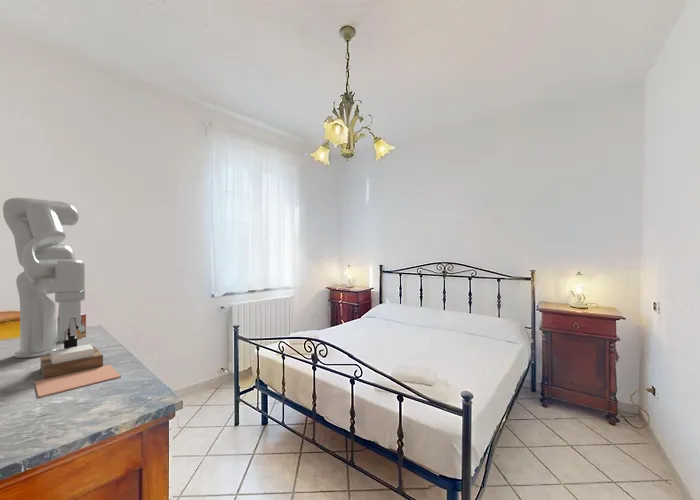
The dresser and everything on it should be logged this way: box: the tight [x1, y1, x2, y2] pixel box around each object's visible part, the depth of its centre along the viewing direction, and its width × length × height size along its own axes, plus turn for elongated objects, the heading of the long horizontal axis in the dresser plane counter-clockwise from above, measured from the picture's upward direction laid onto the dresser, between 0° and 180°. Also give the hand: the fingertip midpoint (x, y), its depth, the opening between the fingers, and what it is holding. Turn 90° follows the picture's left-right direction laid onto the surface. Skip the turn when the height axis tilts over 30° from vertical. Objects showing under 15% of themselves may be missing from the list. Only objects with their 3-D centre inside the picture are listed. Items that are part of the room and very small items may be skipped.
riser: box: [40, 346, 104, 380], centre depth 104 cm, size 14×14×4 cm
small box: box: [56, 313, 87, 343], centre depth 137 cm, size 8×6×10 cm
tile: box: [49, 343, 94, 364], centre depth 102 cm, size 7×10×2 cm
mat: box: [34, 364, 122, 399], centre depth 94 cm, size 14×18×1 cm
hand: (70, 350), depth 106 cm, fingers closed
